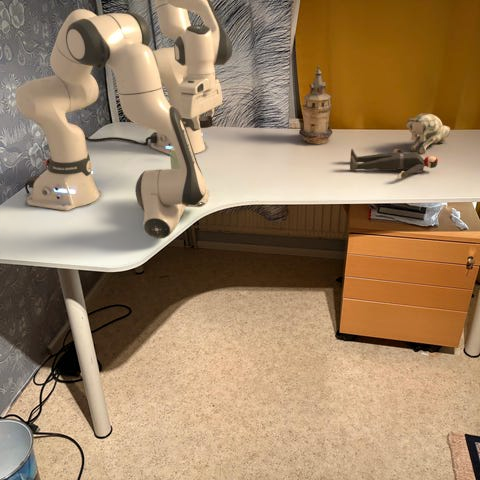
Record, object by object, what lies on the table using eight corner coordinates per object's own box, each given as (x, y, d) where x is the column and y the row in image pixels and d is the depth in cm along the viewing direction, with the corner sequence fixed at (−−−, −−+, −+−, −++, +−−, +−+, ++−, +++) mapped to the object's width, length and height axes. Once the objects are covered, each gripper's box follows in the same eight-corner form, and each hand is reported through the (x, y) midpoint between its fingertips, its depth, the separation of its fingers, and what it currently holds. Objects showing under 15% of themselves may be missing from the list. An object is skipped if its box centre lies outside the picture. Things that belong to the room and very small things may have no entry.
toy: (351, 141, 203) (434, 141, 197) (350, 156, 206) (432, 157, 200) (349, 166, 181) (443, 167, 175) (349, 183, 184) (441, 185, 178)
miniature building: (320, 132, 228) (325, 59, 214) (338, 142, 217) (344, 66, 203) (293, 137, 224) (296, 63, 209) (310, 147, 213) (314, 69, 198)
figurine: (436, 165, 204) (461, 137, 213) (424, 121, 195) (451, 94, 204) (414, 164, 211) (439, 137, 220) (401, 122, 202) (428, 96, 211)
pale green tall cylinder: (191, 203, 169) (187, 149, 161) (177, 206, 168) (172, 152, 159) (185, 198, 173) (182, 144, 164) (171, 201, 171) (167, 147, 163)
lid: (215, 126, 172) (215, 118, 171) (199, 129, 170) (199, 121, 169) (207, 121, 177) (207, 114, 176) (191, 124, 174) (191, 117, 173)
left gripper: (205, 195, 154) (213, 176, 166) (135, 192, 156) (148, 174, 168) (206, 214, 157) (213, 195, 169) (138, 211, 159) (150, 192, 171)
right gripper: (209, 74, 176) (211, 116, 182) (174, 87, 160) (178, 132, 167) (226, 76, 173) (227, 118, 180) (192, 89, 157) (195, 135, 164)
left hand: (180, 184), depth 168 cm, fingers closed on pale green tall cylinder, 5 cm apart
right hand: (203, 125), depth 173 cm, fingers closed on lid, 6 cm apart
